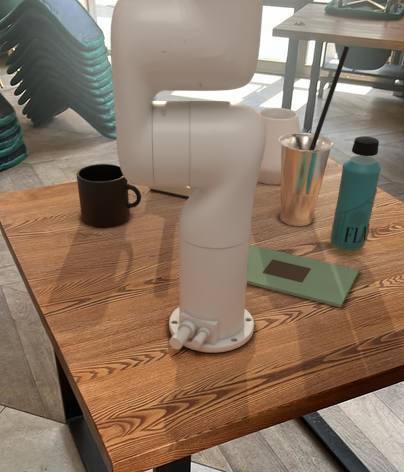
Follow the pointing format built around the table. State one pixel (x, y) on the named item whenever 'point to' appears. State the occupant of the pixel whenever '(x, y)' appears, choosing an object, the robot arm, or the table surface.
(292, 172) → the copper tumbler with straw
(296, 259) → the mat
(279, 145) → the cup
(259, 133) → the robot arm
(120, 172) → the mug
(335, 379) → the table surface
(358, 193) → the beverage bottle
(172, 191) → the scrub brush
